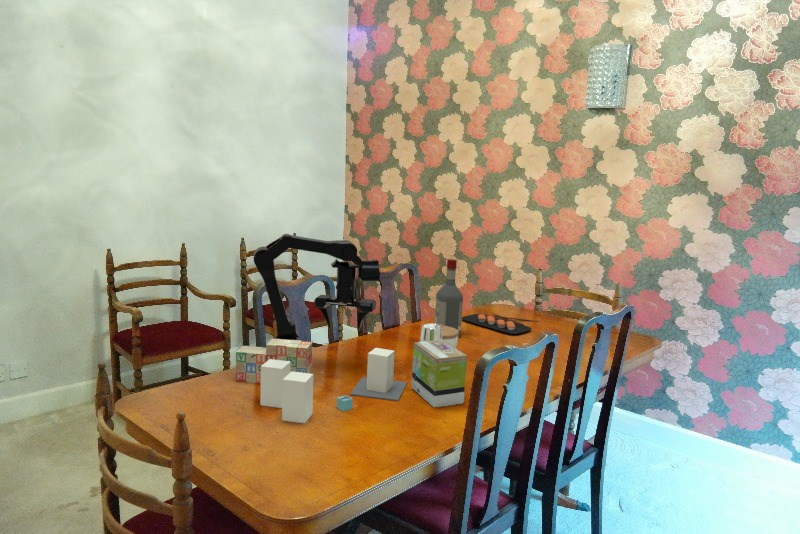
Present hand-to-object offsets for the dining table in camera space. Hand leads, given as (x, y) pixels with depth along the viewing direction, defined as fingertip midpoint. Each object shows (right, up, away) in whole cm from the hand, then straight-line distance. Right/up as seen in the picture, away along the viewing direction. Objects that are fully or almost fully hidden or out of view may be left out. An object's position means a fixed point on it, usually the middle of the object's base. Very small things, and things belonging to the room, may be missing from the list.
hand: (344, 329), depth 186 cm
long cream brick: (-16, -17, -26) cm, 35 cm away
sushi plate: (+63, -5, +67) cm, 93 cm away
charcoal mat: (+12, -16, -13) cm, 24 cm away
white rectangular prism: (+12, -16, -13) cm, 24 cm away
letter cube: (+3, -18, -27) cm, 33 cm away
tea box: (+28, -18, -16) cm, 37 cm away
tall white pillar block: (-9, -19, -34) cm, 40 cm away
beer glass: (+27, -14, +4) cm, 31 cm away
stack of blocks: (-20, -14, -10) cm, 27 cm away
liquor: (+36, -7, +45) cm, 58 cm away
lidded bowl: (+31, -11, +21) cm, 39 cm away
